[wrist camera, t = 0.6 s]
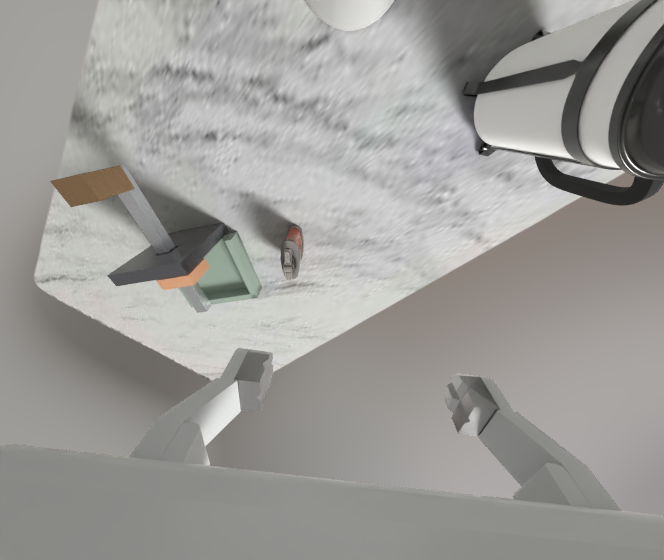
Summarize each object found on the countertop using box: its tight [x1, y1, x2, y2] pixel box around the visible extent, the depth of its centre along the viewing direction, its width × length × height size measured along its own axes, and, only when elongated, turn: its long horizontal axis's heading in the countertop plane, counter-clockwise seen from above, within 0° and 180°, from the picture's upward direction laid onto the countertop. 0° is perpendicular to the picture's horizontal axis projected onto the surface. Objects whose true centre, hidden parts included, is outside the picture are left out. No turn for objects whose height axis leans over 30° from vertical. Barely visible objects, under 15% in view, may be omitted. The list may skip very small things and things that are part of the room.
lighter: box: [281, 225, 304, 280], centre depth 45 cm, size 8×3×10 cm, turn 177°
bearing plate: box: [107, 223, 228, 286], centre depth 42 cm, size 2×12×16 cm, turn 101°
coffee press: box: [462, 0, 664, 205], centre depth 24 cm, size 17×16×30 cm
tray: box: [179, 232, 262, 307], centre depth 51 cm, size 14×16×4 cm
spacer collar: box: [157, 258, 210, 290], centre depth 43 cm, size 2×6×6 cm, turn 101°
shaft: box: [51, 165, 211, 313], centre depth 37 cm, size 26×4×8 cm, turn 11°
